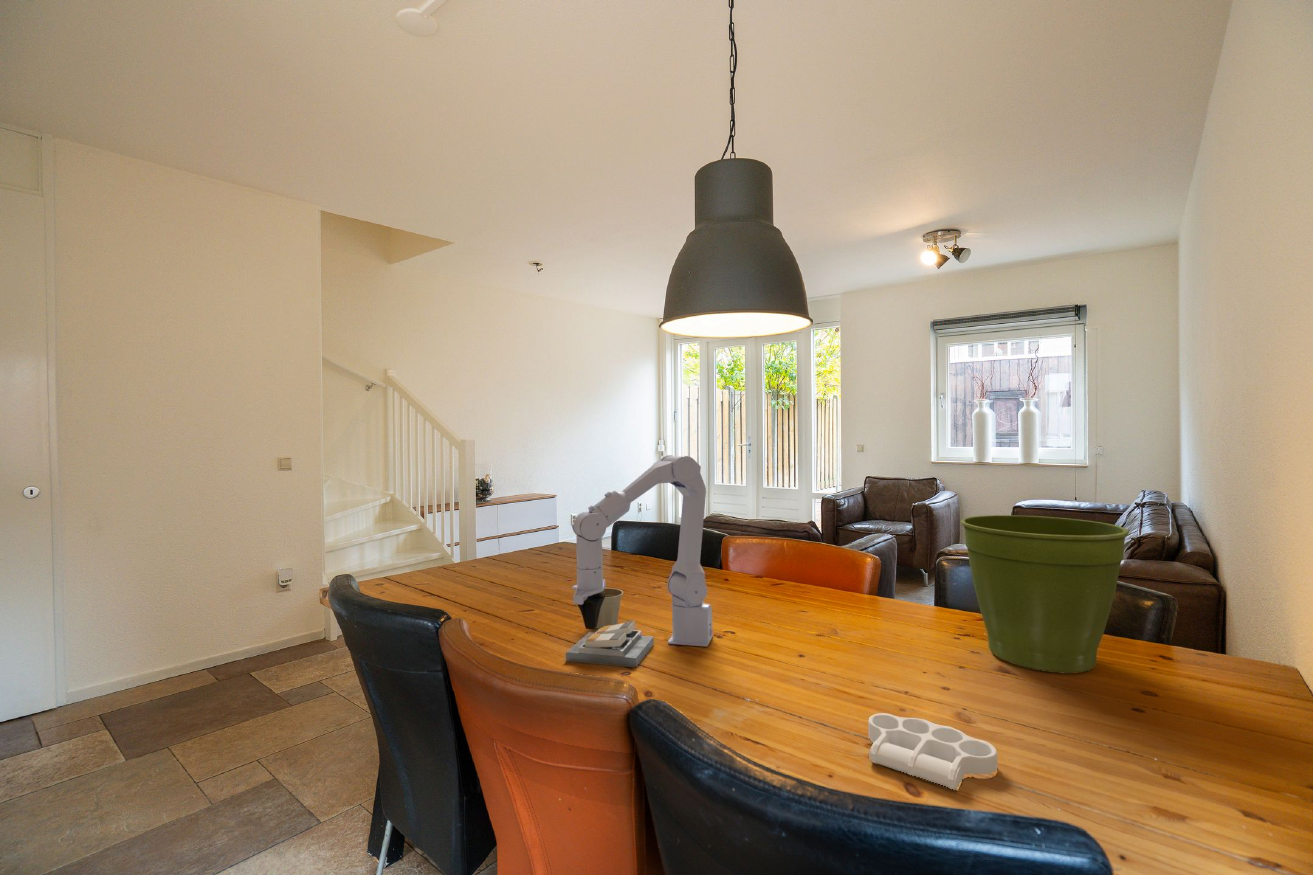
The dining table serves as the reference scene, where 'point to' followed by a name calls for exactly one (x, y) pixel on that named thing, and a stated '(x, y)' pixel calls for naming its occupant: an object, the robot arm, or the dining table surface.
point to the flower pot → (609, 607)
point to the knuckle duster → (928, 749)
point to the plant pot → (1044, 586)
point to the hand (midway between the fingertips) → (591, 628)
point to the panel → (612, 651)
